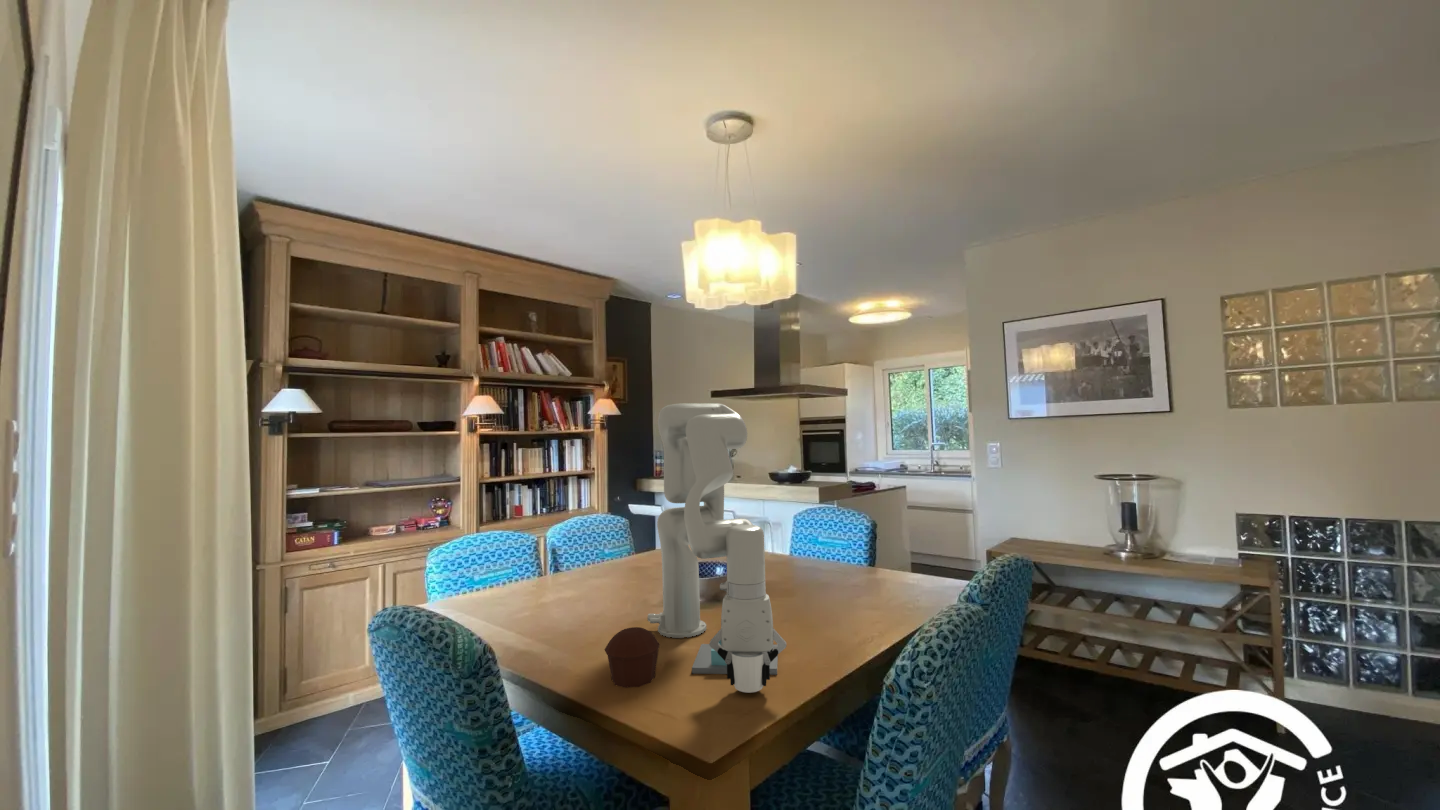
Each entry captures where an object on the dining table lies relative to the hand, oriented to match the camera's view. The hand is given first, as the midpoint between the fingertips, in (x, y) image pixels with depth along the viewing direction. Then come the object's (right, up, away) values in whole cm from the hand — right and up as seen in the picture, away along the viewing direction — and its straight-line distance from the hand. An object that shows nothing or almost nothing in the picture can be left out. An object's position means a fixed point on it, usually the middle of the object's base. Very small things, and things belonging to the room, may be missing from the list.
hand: (748, 681), depth 113 cm
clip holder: (-2, -3, +16) cm, 16 cm away
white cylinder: (0, -1, 0) cm, 1 cm away
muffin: (-24, -3, +8) cm, 25 cm away
